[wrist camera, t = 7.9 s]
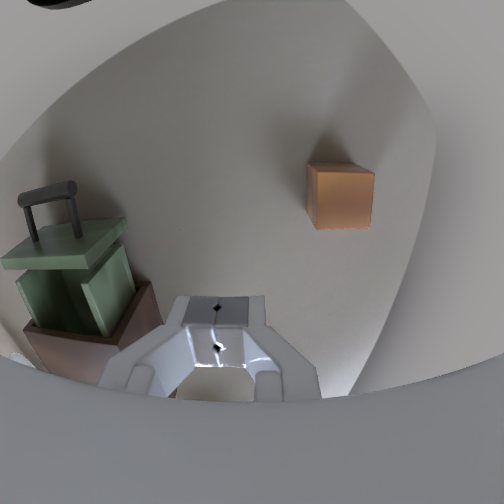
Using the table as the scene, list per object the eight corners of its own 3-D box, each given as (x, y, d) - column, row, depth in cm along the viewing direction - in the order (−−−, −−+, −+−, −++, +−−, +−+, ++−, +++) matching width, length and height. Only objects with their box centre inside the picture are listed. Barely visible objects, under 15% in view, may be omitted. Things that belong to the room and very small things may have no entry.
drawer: (34, 184, 22) (-15, 209, 15) (117, 165, 22) (67, 187, 15) (82, 327, 31) (56, 369, 24) (158, 334, 30) (139, 385, 23)
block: (306, 162, 23) (317, 171, 19) (355, 163, 22) (375, 173, 18) (306, 211, 25) (316, 230, 21) (352, 210, 25) (370, 228, 20)
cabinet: (64, 281, 29) (22, 329, 20) (151, 281, 28) (117, 345, 19) (104, 366, 36) (82, 415, 27) (180, 375, 35) (167, 433, 26)
